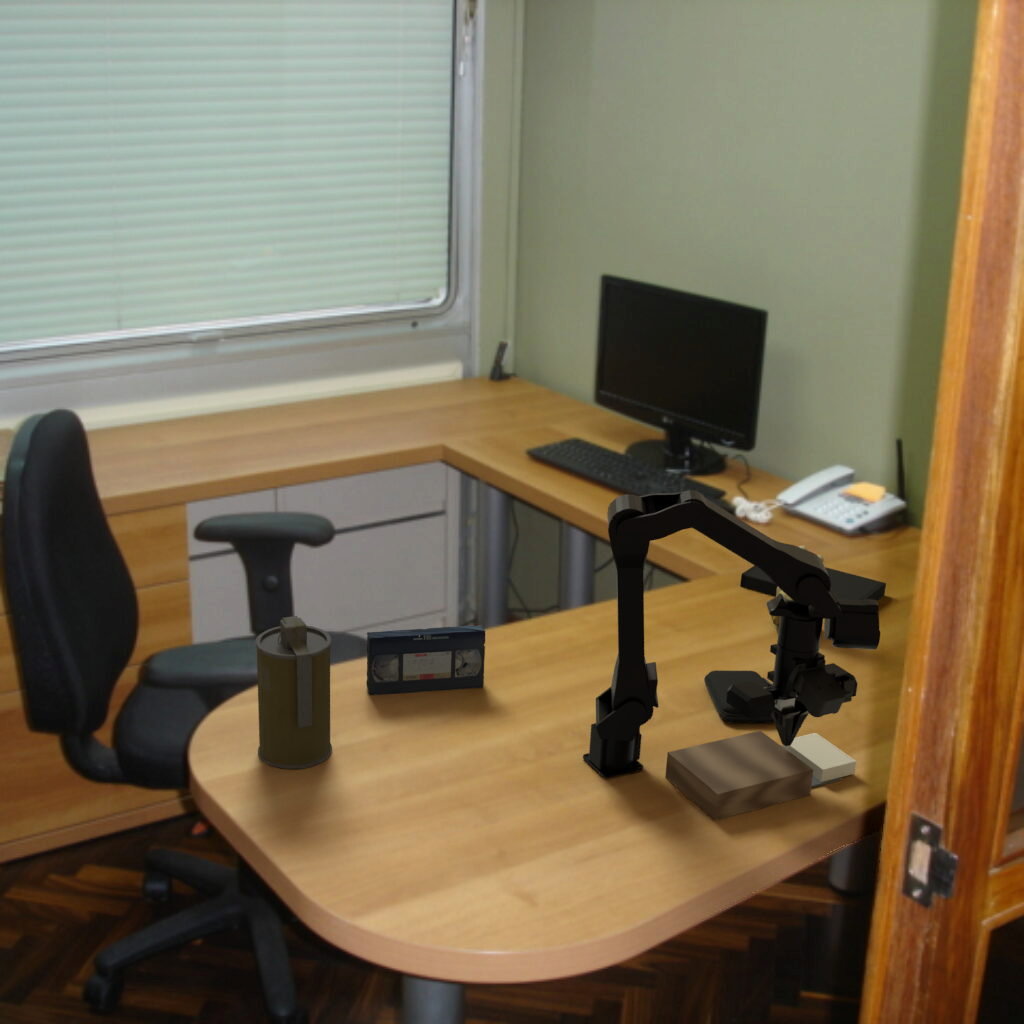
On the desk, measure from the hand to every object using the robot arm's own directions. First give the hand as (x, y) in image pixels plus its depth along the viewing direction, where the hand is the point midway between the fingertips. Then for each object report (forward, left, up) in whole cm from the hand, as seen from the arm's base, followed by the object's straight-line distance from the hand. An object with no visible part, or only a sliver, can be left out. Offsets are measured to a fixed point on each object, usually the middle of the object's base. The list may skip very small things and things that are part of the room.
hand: (786, 744), depth 193 cm
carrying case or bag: (+8, +20, -5) cm, 23 cm away
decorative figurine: (+33, +40, -5) cm, 52 cm away
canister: (-61, +33, -5) cm, 69 cm away
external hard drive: (+48, +53, -6) cm, 71 cm away
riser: (-8, 0, -5) cm, 9 cm away
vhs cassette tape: (-36, +44, -5) cm, 57 cm away
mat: (+4, 0, -5) cm, 6 cm away
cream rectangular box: (+6, 0, -2) cm, 7 cm away
